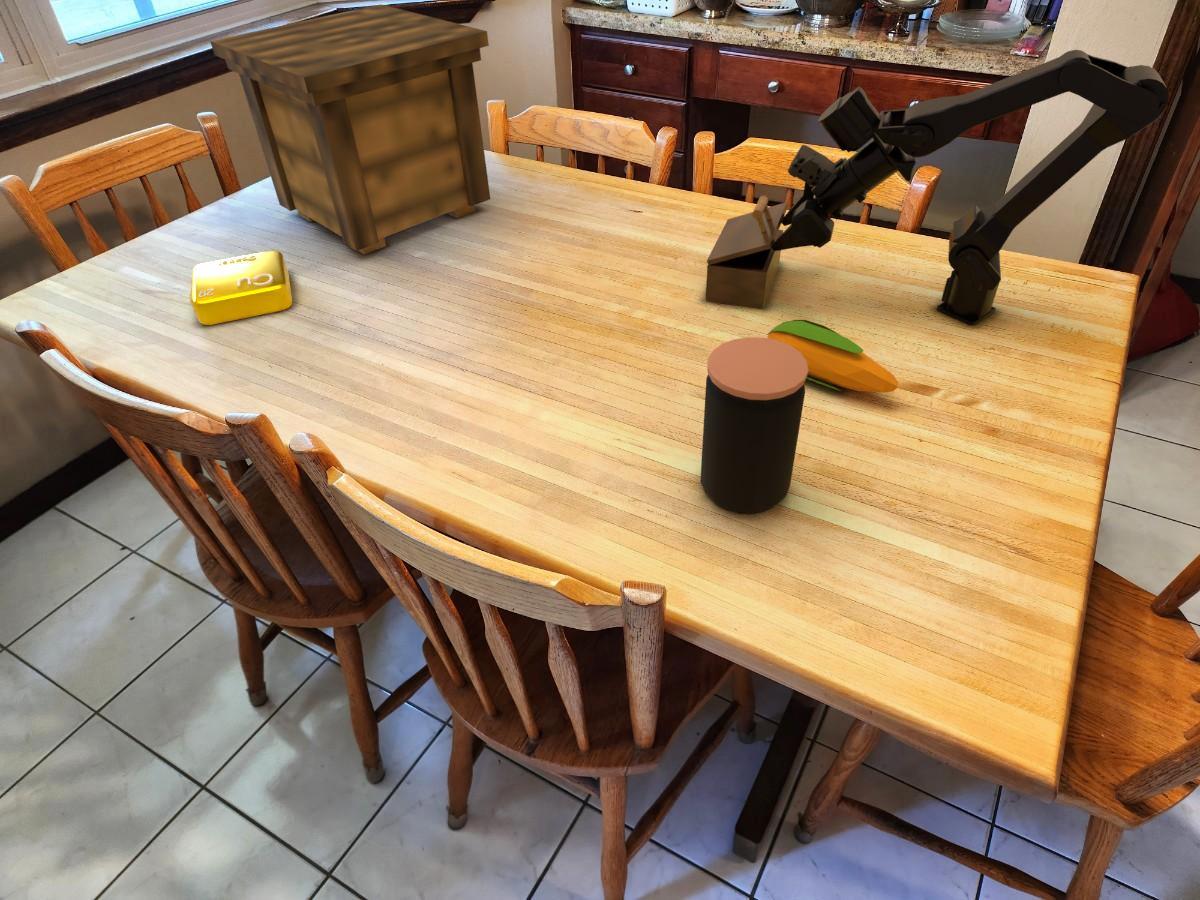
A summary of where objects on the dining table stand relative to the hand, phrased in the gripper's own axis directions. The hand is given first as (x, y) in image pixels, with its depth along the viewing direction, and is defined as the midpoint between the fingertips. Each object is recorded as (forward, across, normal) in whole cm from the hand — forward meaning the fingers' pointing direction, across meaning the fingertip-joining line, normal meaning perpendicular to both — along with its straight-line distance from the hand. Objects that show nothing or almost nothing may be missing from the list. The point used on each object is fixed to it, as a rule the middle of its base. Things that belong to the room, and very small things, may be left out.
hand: (777, 235), depth 126 cm
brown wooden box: (+10, 0, +3) cm, 10 cm away
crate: (+62, -9, -50) cm, 81 cm away
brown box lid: (+4, 0, -3) cm, 5 cm away
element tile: (+67, +28, -54) cm, 90 cm away
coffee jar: (+3, +49, +10) cm, 51 cm away
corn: (-2, +24, +15) cm, 29 cm away
